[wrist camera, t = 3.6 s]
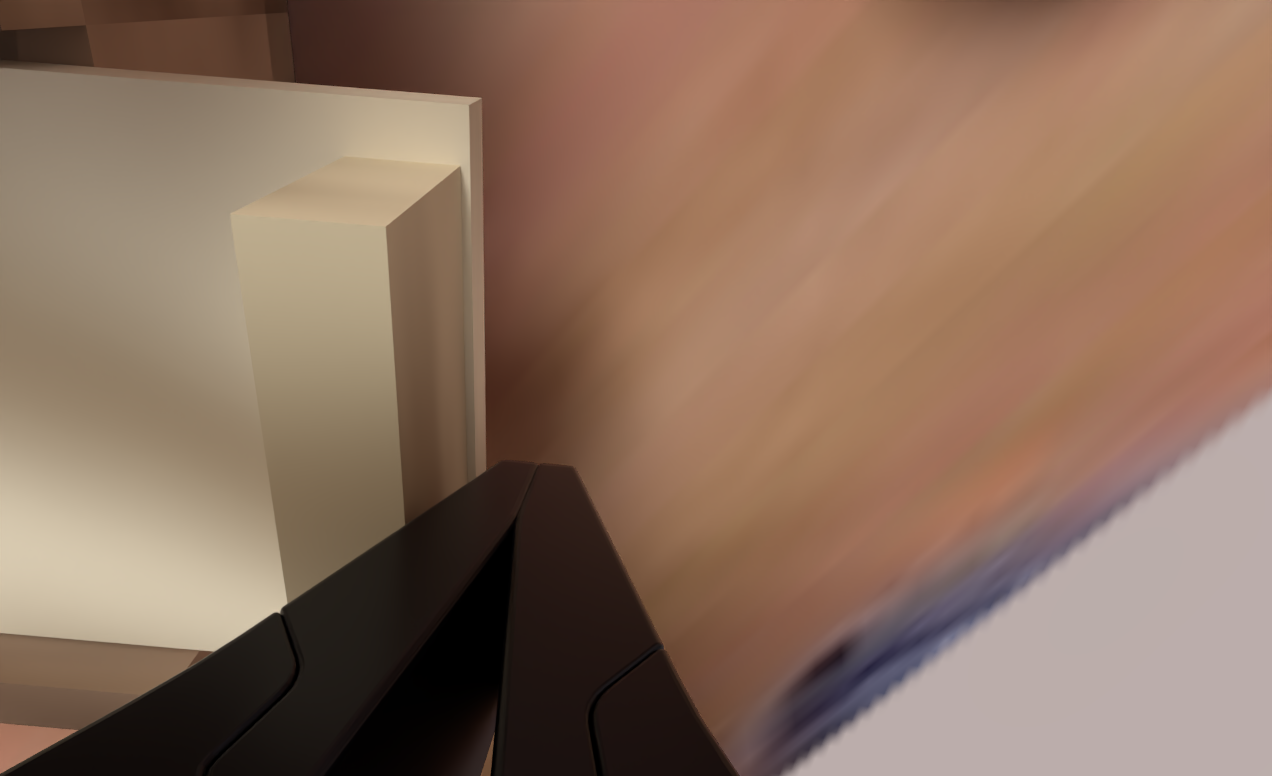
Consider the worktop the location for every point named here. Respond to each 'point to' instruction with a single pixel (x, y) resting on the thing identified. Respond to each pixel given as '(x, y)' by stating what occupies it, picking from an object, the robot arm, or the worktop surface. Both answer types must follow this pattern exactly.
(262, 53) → the walnut box
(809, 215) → the worktop surface
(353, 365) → the birch lid
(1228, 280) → the worktop surface
